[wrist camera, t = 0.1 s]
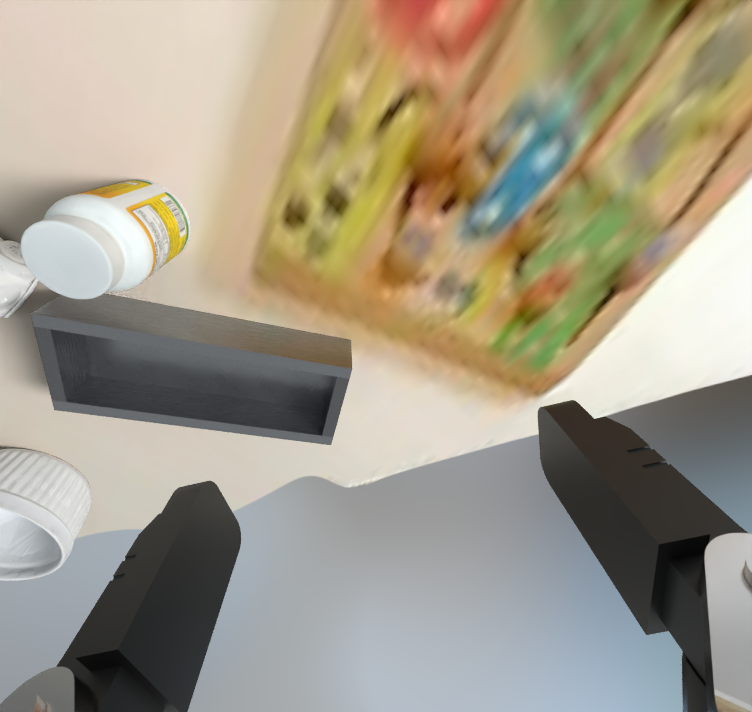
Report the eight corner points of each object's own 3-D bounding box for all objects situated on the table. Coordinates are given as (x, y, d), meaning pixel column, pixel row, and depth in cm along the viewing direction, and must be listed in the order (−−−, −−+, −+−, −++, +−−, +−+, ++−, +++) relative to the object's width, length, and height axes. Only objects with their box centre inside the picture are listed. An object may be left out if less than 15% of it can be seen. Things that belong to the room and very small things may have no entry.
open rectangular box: (71, 287, 28) (30, 313, 24) (350, 340, 33) (352, 368, 29) (87, 376, 33) (54, 409, 29) (331, 412, 37) (331, 445, 33)
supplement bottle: (204, 209, 26) (143, 249, 18) (176, 269, 28) (110, 329, 20) (123, 159, 24) (14, 179, 16) (100, 228, 26) (-7, 277, 18)
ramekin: (-34, 506, 40) (-97, 571, 35) (-50, 422, 34) (-131, 485, 28) (101, 526, 44) (65, 589, 38) (108, 454, 38) (65, 515, 32)
